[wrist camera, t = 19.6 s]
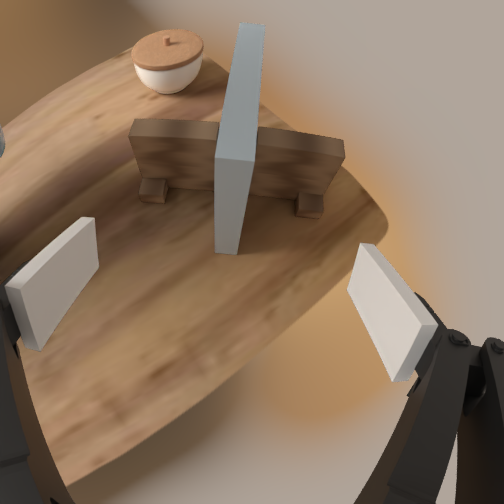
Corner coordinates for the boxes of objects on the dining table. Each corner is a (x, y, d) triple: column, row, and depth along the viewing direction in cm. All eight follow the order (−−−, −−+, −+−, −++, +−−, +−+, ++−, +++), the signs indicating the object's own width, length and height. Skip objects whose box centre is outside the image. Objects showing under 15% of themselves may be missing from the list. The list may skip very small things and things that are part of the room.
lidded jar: (125, 91, 43) (114, 47, 34) (166, 58, 47) (163, 16, 38) (175, 112, 42) (170, 64, 34) (216, 75, 46) (218, 30, 37)
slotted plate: (236, 255, 36) (254, 161, 19) (214, 252, 36) (214, 157, 19) (247, 133, 42) (265, 25, 25) (230, 131, 42) (240, 22, 25)
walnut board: (141, 201, 37) (122, 153, 28) (153, 156, 39) (140, 103, 30) (318, 219, 39) (347, 176, 29) (316, 172, 41) (341, 124, 32)
